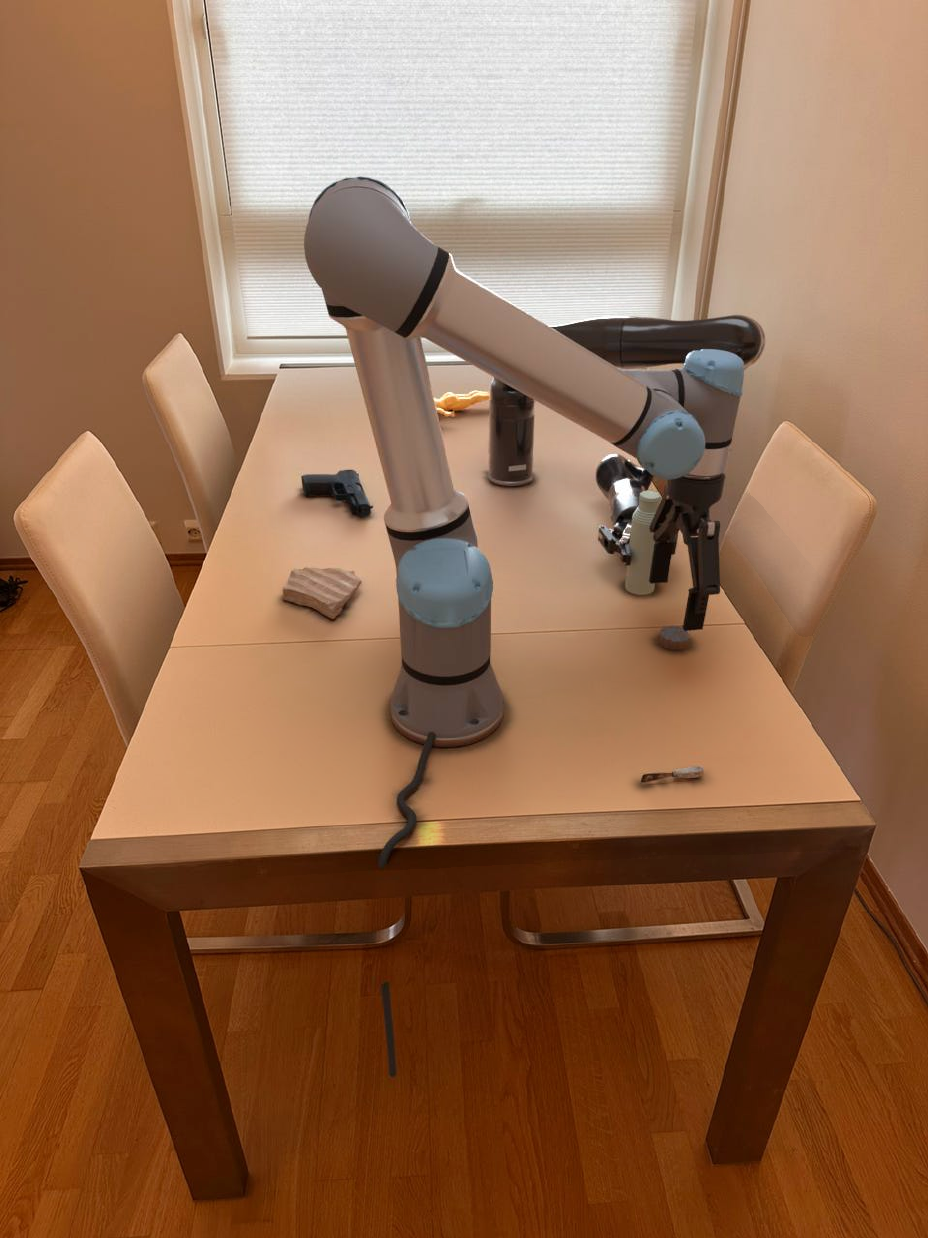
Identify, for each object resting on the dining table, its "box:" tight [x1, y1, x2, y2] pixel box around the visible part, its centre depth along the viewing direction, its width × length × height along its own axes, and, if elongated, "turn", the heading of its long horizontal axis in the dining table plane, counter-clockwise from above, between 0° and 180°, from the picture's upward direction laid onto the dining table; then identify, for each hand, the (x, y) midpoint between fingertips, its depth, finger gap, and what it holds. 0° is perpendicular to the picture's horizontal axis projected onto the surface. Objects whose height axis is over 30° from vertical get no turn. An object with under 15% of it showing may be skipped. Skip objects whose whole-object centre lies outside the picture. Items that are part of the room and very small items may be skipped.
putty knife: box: [640, 765, 705, 784], centre depth 109 cm, size 1×8×2 cm, turn 103°
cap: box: [658, 625, 690, 652], centre depth 135 cm, size 4×4×2 cm
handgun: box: [301, 469, 374, 518], centre depth 178 cm, size 3×18×12 cm
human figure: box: [434, 390, 490, 418], centre depth 225 cm, size 20×20×4 cm
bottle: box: [624, 490, 662, 596], centre depth 145 cm, size 5×5×17 cm
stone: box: [281, 566, 362, 620], centre depth 147 cm, size 13×12×3 cm
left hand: (674, 604), depth 132 cm, fingers open, 13 cm apart
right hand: (645, 560), depth 144 cm, fingers closed on bottle, 5 cm apart
